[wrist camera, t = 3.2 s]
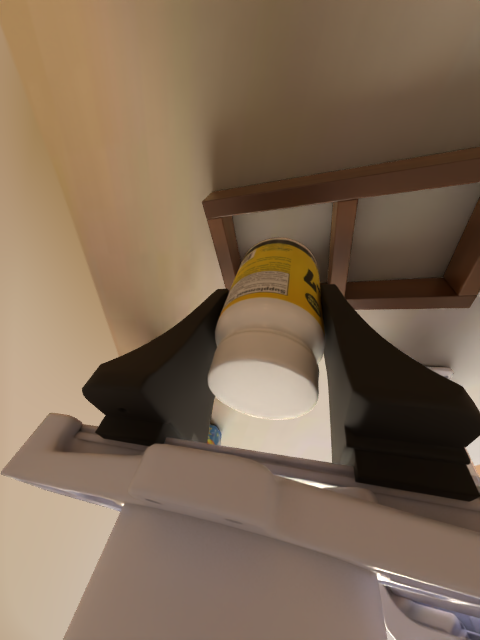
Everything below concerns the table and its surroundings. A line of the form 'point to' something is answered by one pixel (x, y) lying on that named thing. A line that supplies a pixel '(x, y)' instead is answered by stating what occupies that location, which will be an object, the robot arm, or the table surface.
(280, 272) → the supplement bottle
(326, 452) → the table surface
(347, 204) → the frame
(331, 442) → the robot arm
